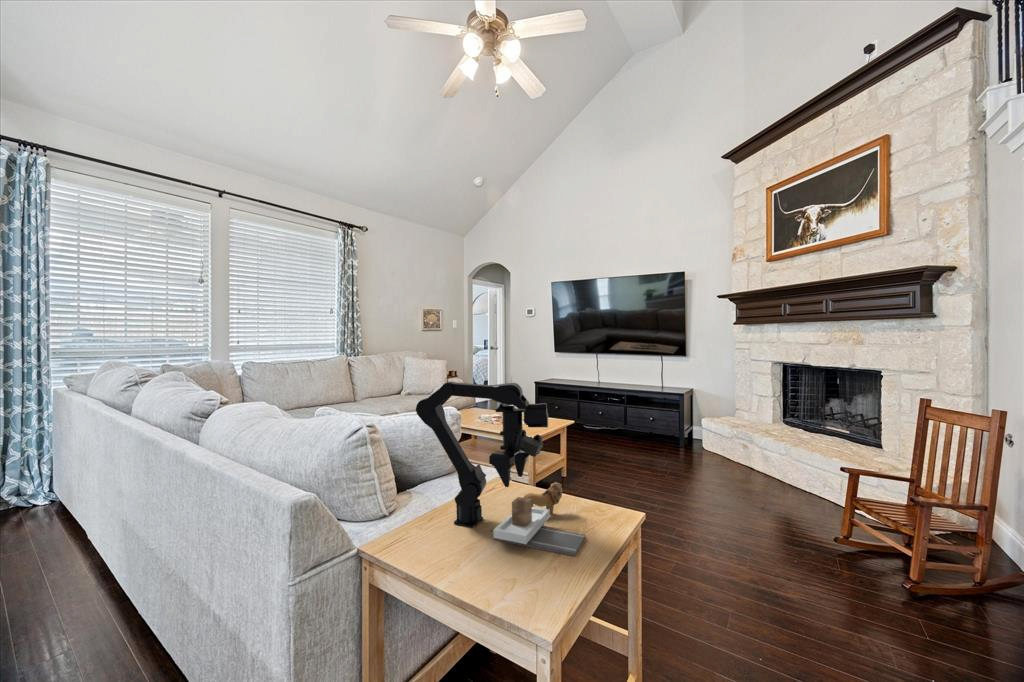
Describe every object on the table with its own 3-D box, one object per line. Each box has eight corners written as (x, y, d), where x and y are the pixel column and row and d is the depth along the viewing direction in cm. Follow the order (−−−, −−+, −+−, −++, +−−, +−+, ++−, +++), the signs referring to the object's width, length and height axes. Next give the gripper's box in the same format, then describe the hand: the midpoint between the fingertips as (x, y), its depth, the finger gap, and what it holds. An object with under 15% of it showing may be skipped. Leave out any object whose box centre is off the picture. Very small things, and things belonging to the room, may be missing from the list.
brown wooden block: (512, 524, 109) (511, 502, 109) (518, 518, 113) (517, 496, 113) (526, 527, 107) (525, 504, 107) (531, 521, 111) (531, 498, 111)
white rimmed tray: (493, 543, 104) (493, 529, 104) (520, 517, 119) (520, 505, 119) (526, 550, 100) (526, 536, 100) (549, 522, 116) (549, 509, 116)
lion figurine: (559, 508, 127) (558, 479, 127) (566, 515, 122) (565, 485, 122) (514, 515, 123) (513, 485, 123) (519, 522, 118) (518, 491, 118)
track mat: (494, 539, 108) (493, 536, 108) (510, 524, 117) (510, 521, 117) (574, 556, 99) (574, 552, 99) (585, 538, 108) (585, 534, 108)
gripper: (525, 436, 106) (526, 496, 106) (550, 422, 123) (551, 475, 122) (487, 433, 110) (489, 491, 110) (516, 420, 127) (517, 470, 127)
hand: (513, 481), depth 117 cm, fingers open, 9 cm apart
